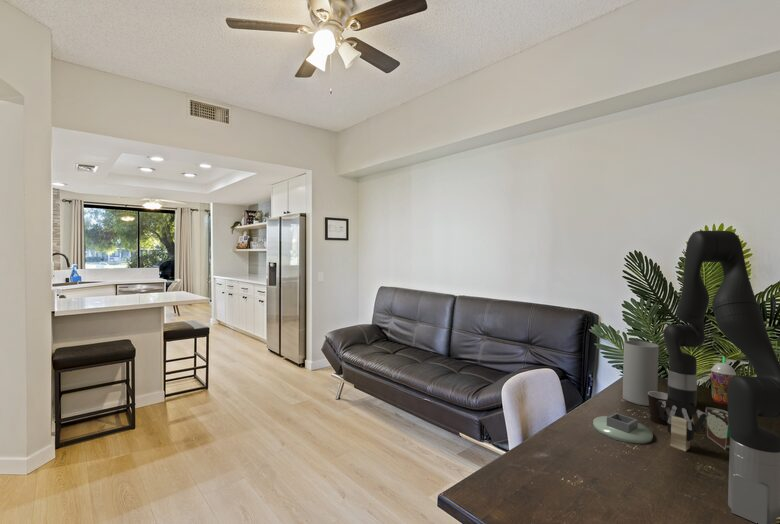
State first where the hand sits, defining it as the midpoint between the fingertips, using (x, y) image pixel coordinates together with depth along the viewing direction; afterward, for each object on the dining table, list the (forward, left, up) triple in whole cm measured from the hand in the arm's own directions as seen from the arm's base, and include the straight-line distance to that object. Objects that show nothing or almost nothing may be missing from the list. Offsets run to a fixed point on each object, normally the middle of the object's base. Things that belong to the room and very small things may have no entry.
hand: (680, 437), depth 122 cm
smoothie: (+63, +4, -3) cm, 63 cm away
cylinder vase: (+34, +25, -3) cm, 42 cm away
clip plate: (-4, +16, -3) cm, 17 cm away
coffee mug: (+18, +10, -3) cm, 21 cm away
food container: (+16, -8, -4) cm, 18 cm away
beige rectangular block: (0, 0, -3) cm, 3 cm away
